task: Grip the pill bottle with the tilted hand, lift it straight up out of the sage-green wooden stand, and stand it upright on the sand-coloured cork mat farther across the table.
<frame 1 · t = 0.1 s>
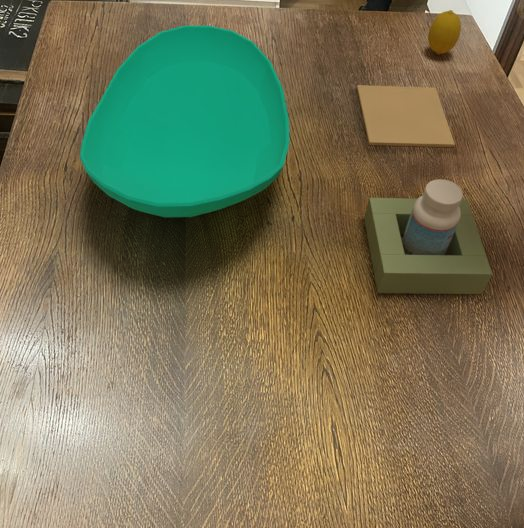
stand: (420, 255, 84), on the table
mat: (403, 116, 102), on the table
pill bottle: (419, 256, 84), resting in stand
lemon: (437, 55, 114), on the table
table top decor: (191, 184, 90), on the table
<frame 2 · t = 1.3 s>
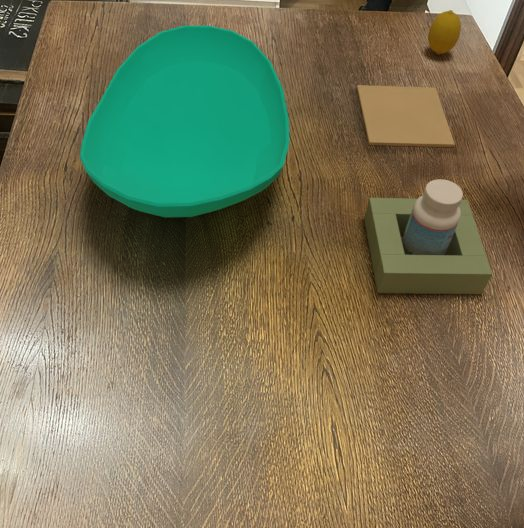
nothing on the table moved.
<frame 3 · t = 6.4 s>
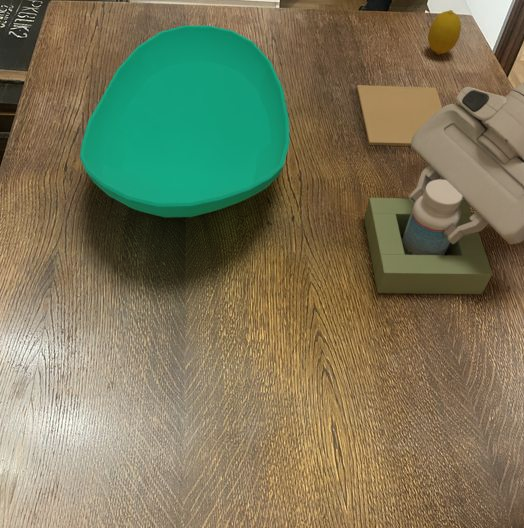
hand: (429, 220, 78), 7 cm above the table, tool tilted 45°, fingers closed on pill bottle, 6 cm apart
pill bottle: (419, 256, 84), resting in stand, touching gripper
everything else where it was.
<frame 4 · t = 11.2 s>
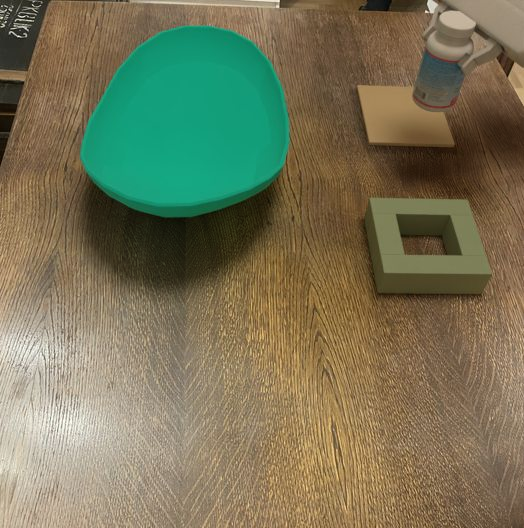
hand: (442, 56, 79), 18 cm above the table, tool tilted 45°, fingers closed on pill bottle, 6 cm apart
pill bottle: (432, 102, 85), point 12 cm above the table, touching gripper
everything else where it was.
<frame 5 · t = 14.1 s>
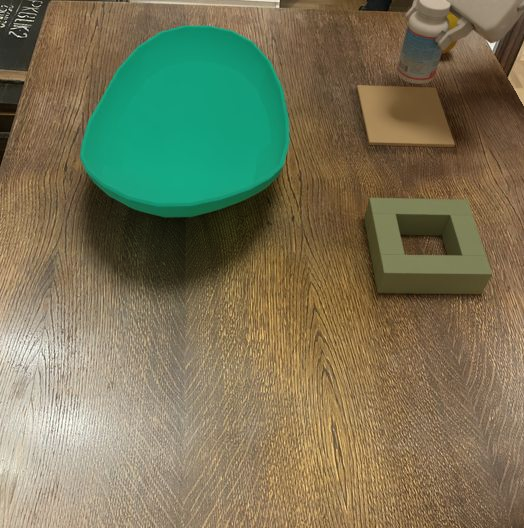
hand: (422, 33, 90), 14 cm above the table, tool tilted 45°, fingers closed on pill bottle, 6 cm apart
pill bottle: (414, 75, 96), point 7 cm above the table, touching gripper
everything else where it was.
when the fingers open (7 cm above the table, at t = 16.5 s): pill bottle stays where it is, resting on mat.
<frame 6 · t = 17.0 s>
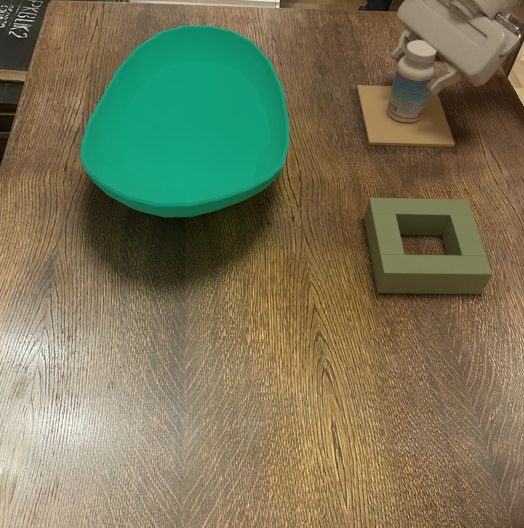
hand: (411, 75, 96), 8 cm above the table, tool tilted 45°, fingers open, 8 cm apart
pill bottle: (403, 114, 102), resting on mat
everything else where it was.
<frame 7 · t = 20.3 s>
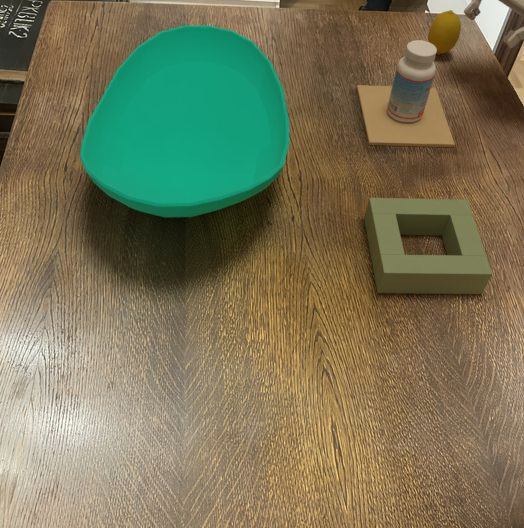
hand: (486, 30, 96), 12 cm above the table, tool tilted 45°, fingers open, 8 cm apart
nothing on the table moved.
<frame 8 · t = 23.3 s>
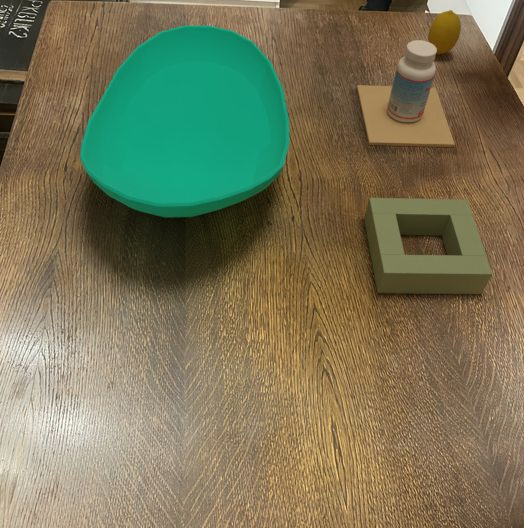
nothing on the table moved.
at the end: pill bottle inside the target area on the mat (0.1 cm from its centre), point 0.4 cm above the mat's base; pill bottle tilted 0°; the gripper is holding nothing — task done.
